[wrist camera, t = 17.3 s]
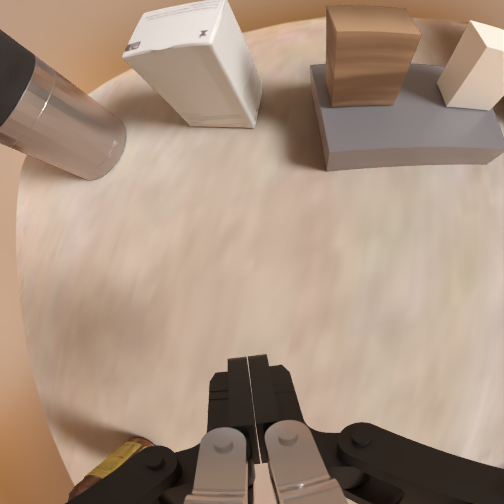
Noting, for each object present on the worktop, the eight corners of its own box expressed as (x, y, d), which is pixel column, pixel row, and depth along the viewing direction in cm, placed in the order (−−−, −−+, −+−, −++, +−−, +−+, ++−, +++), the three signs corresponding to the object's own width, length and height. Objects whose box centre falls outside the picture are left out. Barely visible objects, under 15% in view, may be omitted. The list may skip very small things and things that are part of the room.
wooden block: (489, 110, 21) (534, 61, 11) (446, 106, 22) (486, 46, 12) (479, 87, 21) (518, 35, 11) (436, 82, 22) (469, 20, 12)
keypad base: (486, 164, 26) (507, 149, 21) (326, 171, 29) (329, 152, 24) (461, 92, 26) (476, 71, 22) (311, 91, 30) (310, 65, 25)
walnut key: (393, 105, 23) (421, 34, 13) (331, 107, 24) (337, 31, 14) (384, 80, 23) (405, 8, 14) (325, 82, 24) (326, 5, 15)
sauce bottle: (124, 457, 31) (32, 529, 12) (130, 427, 31) (22, 500, 12) (166, 480, 30) (85, 570, 10) (175, 451, 30) (81, 549, 10)
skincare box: (264, 88, 31) (234, -6, 17) (255, 132, 31) (215, 42, 16) (197, 88, 33) (143, 8, 18) (185, 129, 32) (117, 55, 18)
